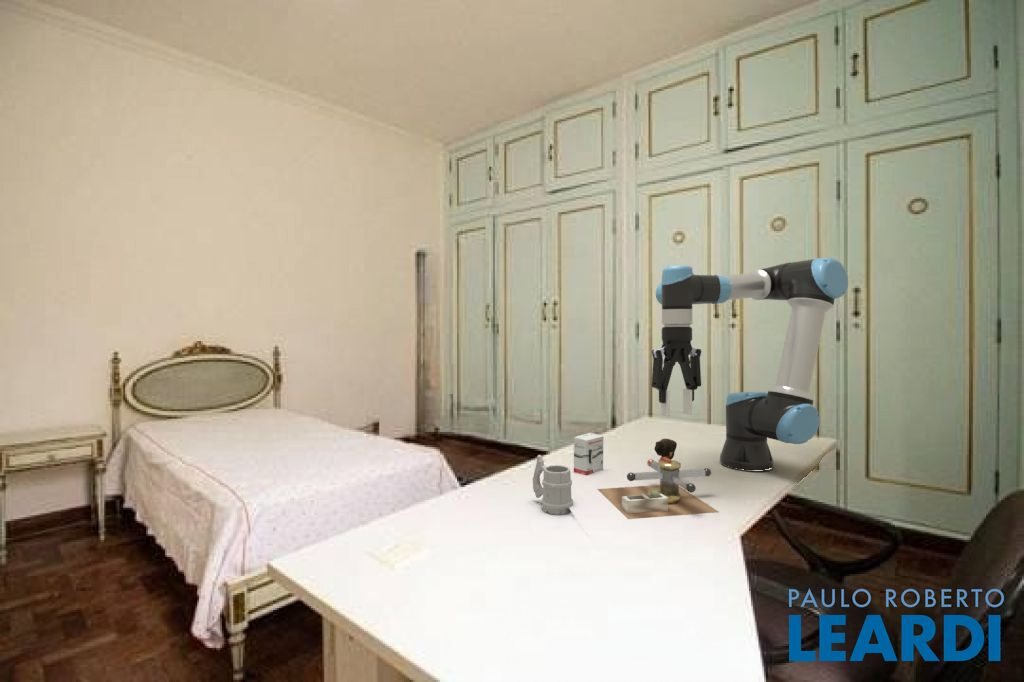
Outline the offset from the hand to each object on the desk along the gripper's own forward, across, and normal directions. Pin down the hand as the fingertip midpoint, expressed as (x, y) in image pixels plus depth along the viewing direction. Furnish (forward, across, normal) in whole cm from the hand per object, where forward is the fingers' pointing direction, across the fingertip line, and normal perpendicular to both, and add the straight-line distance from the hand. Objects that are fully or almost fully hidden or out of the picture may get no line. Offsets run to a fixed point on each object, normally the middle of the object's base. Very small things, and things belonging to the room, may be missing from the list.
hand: (676, 414), depth 126 cm
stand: (+21, +10, +5) cm, 24 cm away
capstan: (+19, +6, +6) cm, 21 cm away
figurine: (+21, -4, -10) cm, 24 cm away
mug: (+21, +35, -2) cm, 41 cm away
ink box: (+21, +15, -21) cm, 33 cm away
